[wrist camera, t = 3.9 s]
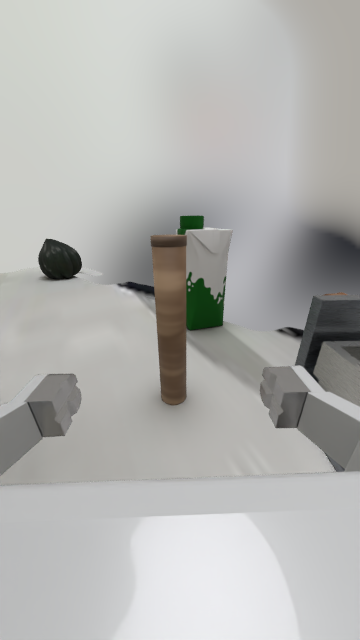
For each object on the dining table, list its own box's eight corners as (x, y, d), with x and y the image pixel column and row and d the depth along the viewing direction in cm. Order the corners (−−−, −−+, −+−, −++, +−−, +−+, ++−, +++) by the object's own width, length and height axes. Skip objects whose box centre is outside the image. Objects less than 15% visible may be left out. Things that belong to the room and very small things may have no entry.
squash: (95, 260, 87) (66, 230, 83) (72, 268, 74) (36, 234, 70) (77, 281, 93) (49, 255, 89) (53, 293, 80) (19, 262, 76)
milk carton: (174, 315, 47) (171, 216, 39) (211, 311, 50) (216, 216, 41) (186, 333, 40) (186, 215, 31) (229, 326, 42) (240, 215, 34)
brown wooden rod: (176, 409, 24) (172, 237, 16) (155, 397, 25) (142, 236, 18) (191, 392, 26) (193, 235, 18) (171, 382, 28) (165, 234, 20)
